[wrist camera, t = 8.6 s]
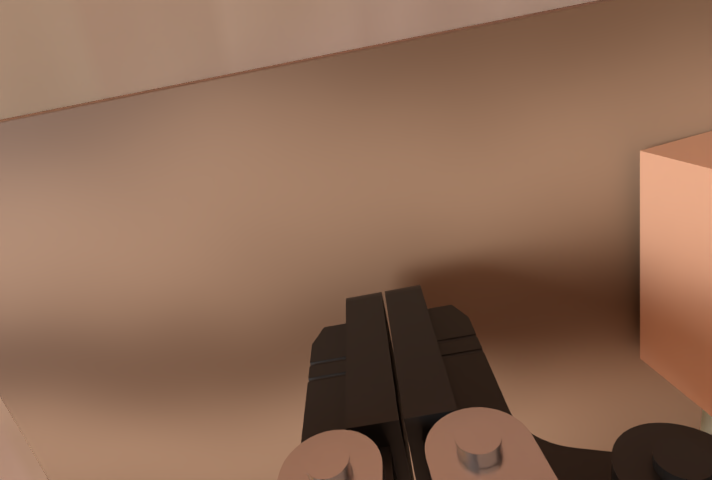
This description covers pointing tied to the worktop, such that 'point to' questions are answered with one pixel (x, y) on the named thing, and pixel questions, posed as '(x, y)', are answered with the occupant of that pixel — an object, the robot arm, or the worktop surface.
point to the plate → (341, 235)
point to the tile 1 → (677, 264)
